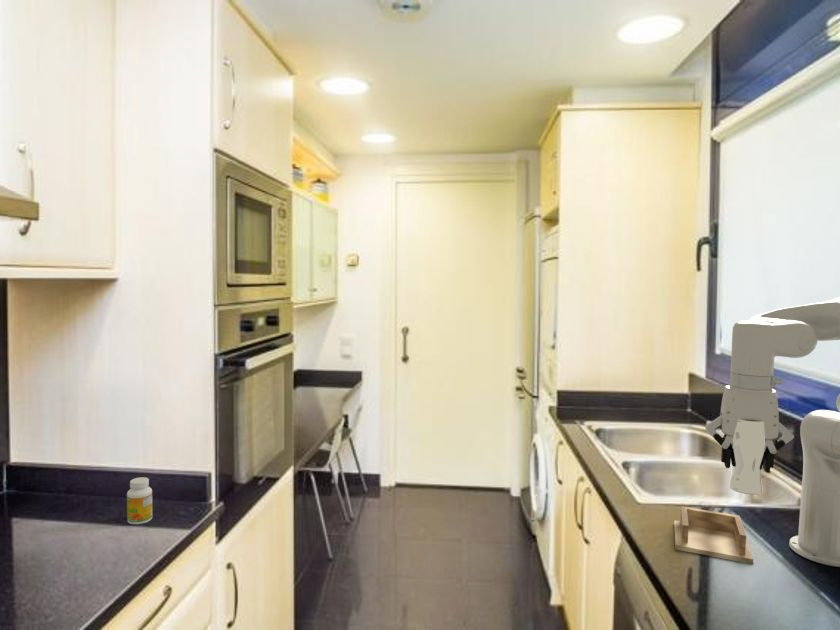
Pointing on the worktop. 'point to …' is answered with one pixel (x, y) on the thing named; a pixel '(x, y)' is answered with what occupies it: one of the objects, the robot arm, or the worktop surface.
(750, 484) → the beer glass
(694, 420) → the worktop surface
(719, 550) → the glass rest
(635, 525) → the worktop surface
